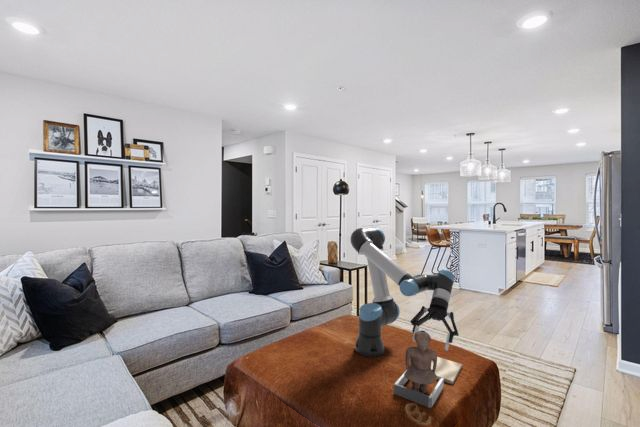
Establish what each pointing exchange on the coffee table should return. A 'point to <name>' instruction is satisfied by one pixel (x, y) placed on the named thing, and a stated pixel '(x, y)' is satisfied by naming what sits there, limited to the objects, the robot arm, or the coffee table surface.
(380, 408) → the coffee table surface
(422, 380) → the clay figurine
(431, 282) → the robot arm
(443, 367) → the cream square slab
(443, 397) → the coffee table surface
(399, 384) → the grey channel
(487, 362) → the coffee table surface
